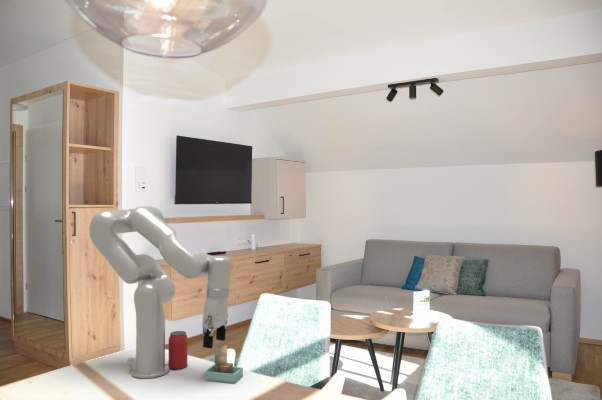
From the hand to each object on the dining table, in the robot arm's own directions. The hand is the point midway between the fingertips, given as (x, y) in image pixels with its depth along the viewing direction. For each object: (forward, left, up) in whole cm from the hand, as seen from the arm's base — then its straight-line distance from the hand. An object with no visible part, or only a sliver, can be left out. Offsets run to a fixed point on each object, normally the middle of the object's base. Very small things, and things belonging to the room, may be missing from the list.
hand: (214, 343), depth 164 cm
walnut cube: (+6, -1, -8) cm, 11 cm away
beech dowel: (+3, -1, -6) cm, 7 cm away
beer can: (-17, +6, -11) cm, 21 cm away
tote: (+4, -1, -11) cm, 12 cm away
